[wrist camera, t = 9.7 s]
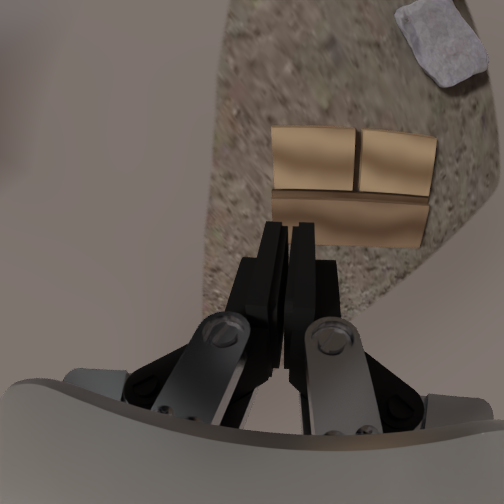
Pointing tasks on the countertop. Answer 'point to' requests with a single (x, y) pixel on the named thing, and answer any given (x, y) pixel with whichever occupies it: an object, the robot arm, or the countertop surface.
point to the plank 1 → (313, 157)
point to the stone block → (442, 41)
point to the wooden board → (353, 216)
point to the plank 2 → (396, 162)
